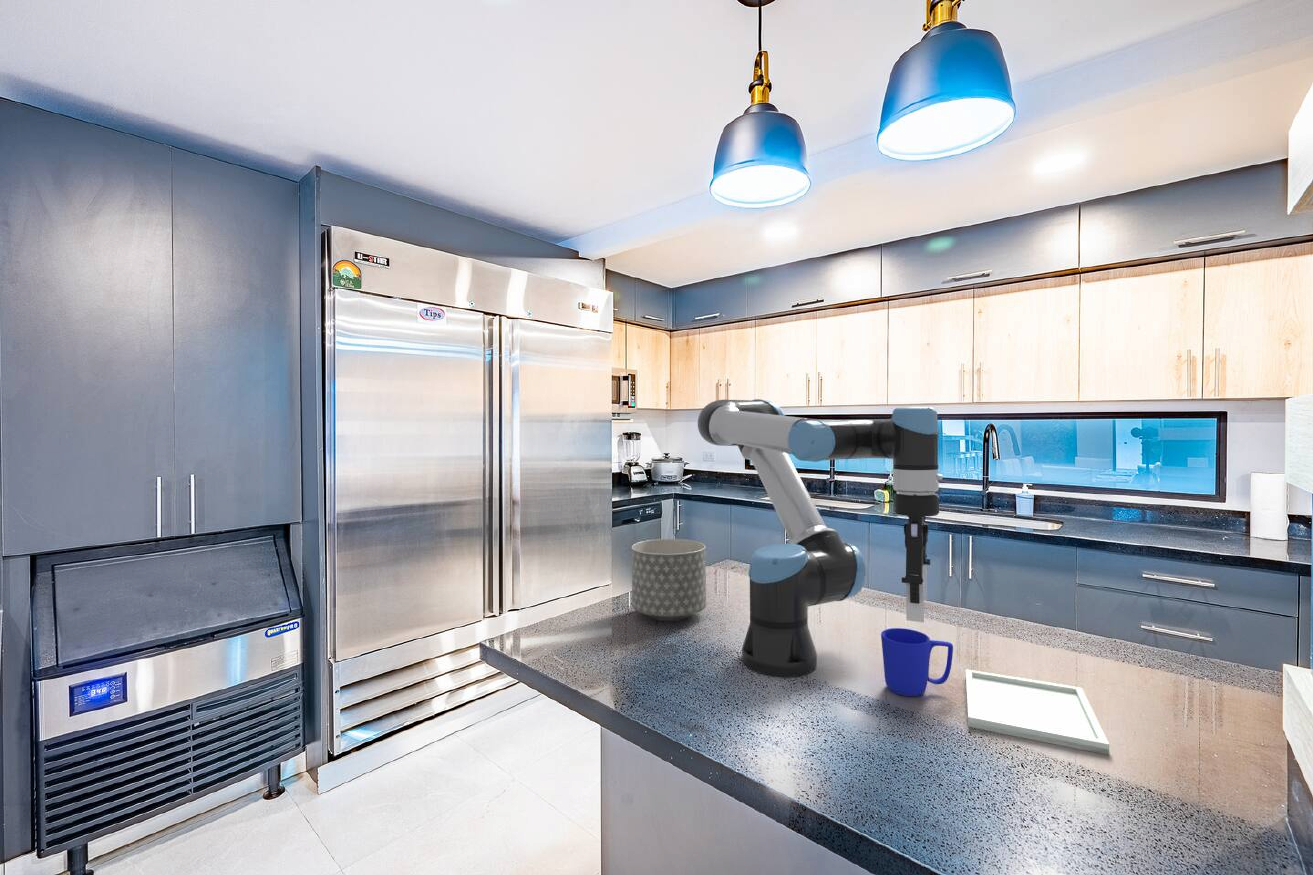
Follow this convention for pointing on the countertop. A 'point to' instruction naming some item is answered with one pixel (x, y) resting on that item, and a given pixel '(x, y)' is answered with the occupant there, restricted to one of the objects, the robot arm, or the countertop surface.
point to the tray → (1033, 711)
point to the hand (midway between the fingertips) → (917, 609)
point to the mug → (910, 660)
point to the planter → (669, 578)
